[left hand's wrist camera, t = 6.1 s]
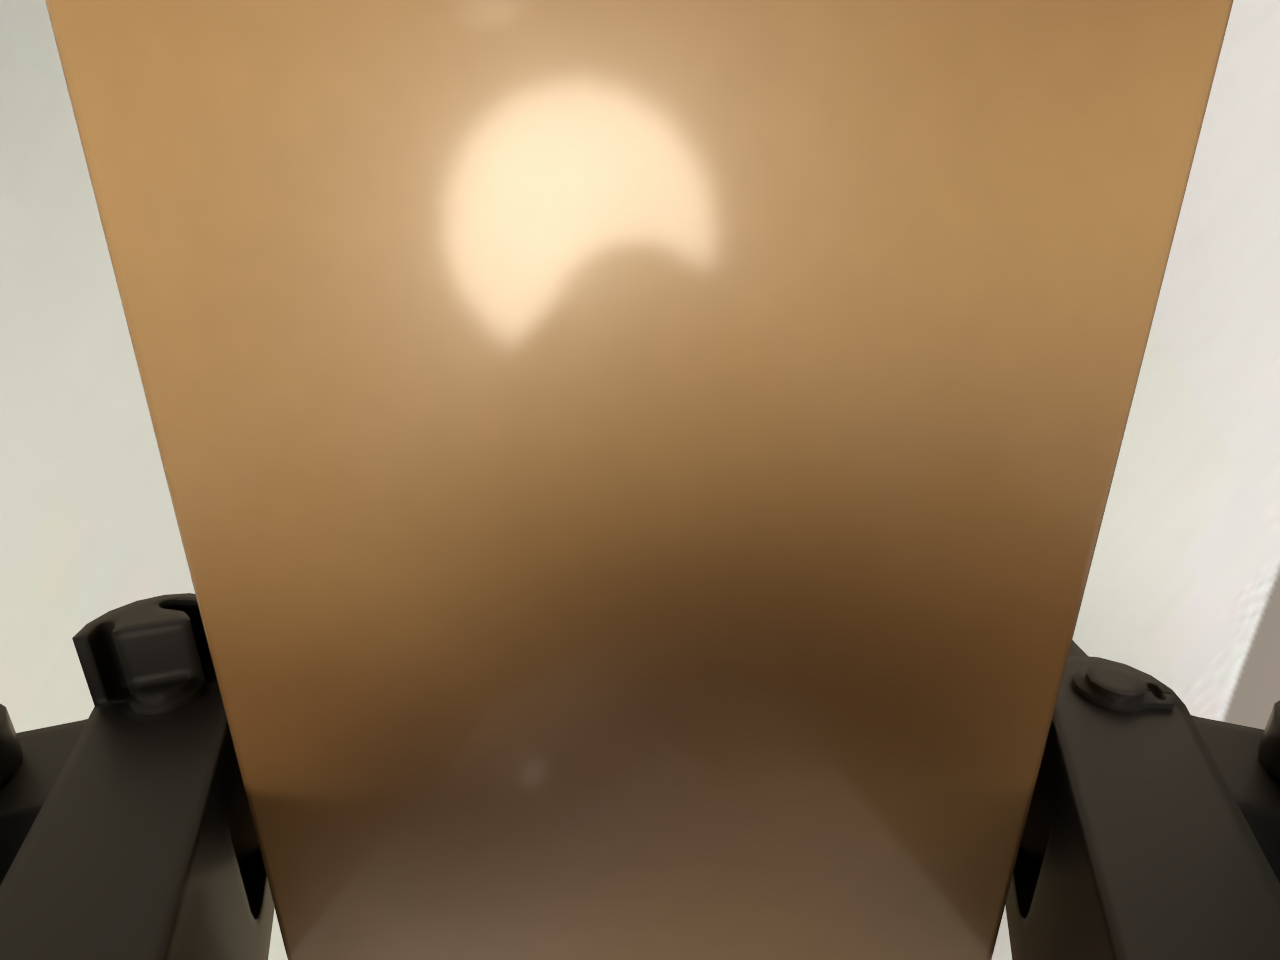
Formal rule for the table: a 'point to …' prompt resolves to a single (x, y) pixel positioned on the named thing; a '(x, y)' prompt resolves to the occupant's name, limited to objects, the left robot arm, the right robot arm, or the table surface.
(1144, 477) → the table surface
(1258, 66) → the table surface
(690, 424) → the box
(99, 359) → the table surface
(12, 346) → the table surface
